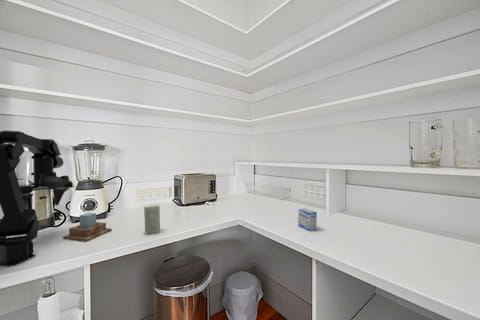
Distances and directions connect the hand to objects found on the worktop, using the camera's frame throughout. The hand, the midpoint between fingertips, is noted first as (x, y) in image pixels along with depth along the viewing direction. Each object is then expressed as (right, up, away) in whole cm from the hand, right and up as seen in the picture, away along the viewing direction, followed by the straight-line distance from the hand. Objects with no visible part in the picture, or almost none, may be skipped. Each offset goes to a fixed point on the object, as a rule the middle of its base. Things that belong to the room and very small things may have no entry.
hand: (44, 207), depth 80 cm
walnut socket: (+14, -13, +5) cm, 20 cm away
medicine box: (+113, -14, +16) cm, 115 cm away
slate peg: (+14, -12, +5) cm, 19 cm away
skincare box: (+40, -13, +9) cm, 43 cm away
